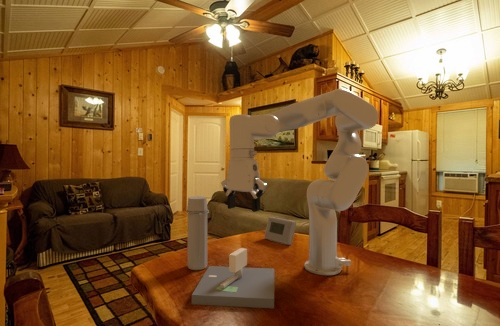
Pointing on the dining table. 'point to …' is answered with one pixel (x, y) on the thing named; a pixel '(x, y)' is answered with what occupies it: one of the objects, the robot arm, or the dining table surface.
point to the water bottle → (197, 232)
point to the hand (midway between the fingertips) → (243, 209)
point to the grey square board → (236, 288)
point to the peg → (236, 265)
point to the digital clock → (280, 230)
